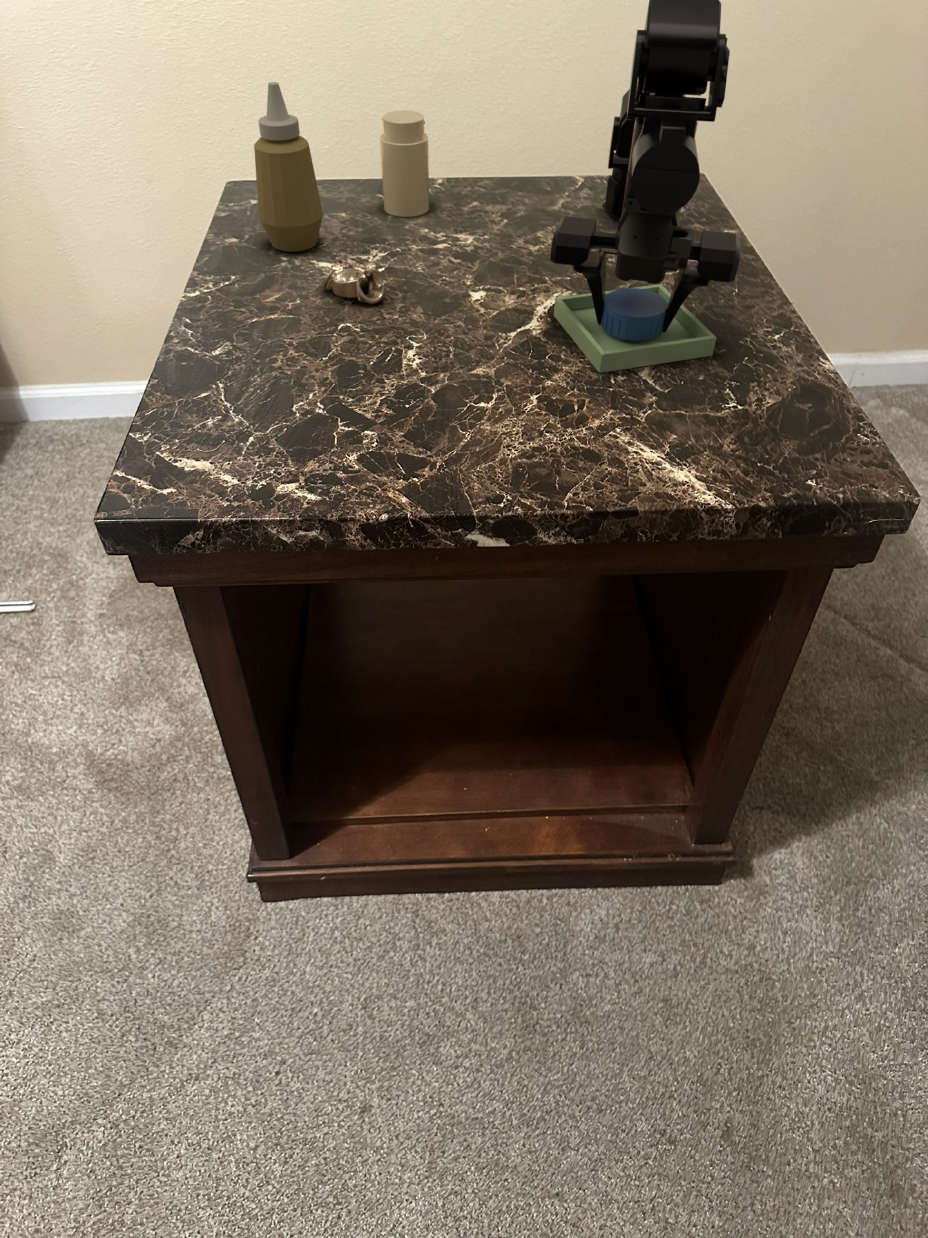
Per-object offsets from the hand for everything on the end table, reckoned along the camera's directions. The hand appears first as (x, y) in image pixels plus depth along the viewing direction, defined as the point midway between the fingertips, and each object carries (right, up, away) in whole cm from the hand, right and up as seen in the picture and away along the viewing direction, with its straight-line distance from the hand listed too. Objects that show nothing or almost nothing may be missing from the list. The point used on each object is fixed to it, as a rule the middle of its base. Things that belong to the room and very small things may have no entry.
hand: (631, 326), depth 91 cm
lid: (0, +2, -2) cm, 3 cm away
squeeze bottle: (-40, +16, +16) cm, 47 cm away
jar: (-27, +26, +25) cm, 45 cm away
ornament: (-31, +6, +7) cm, 32 cm away
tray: (0, -1, +1) cm, 1 cm away
